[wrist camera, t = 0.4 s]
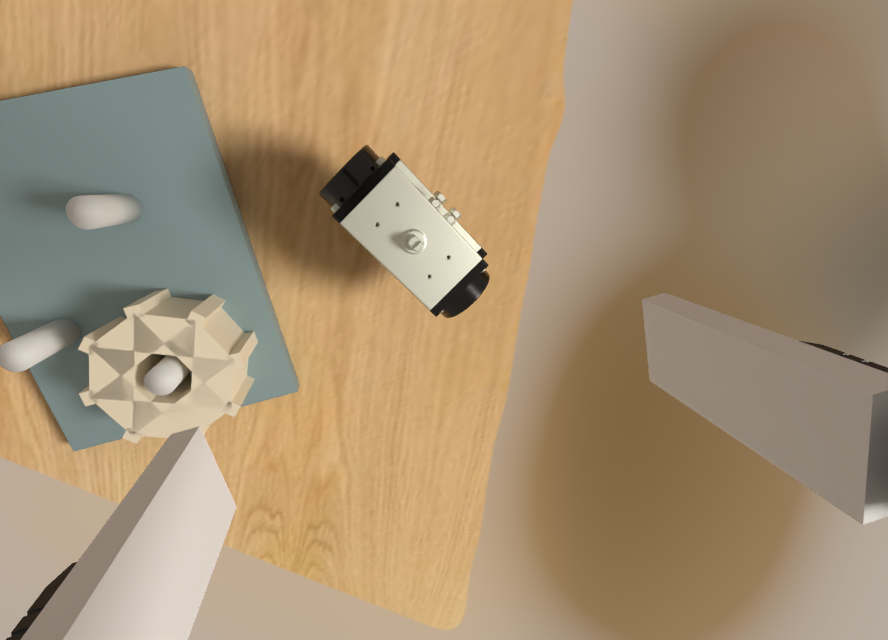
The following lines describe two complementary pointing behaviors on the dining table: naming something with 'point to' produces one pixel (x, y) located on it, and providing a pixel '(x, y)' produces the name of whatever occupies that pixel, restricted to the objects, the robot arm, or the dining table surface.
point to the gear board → (130, 263)
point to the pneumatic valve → (408, 231)
